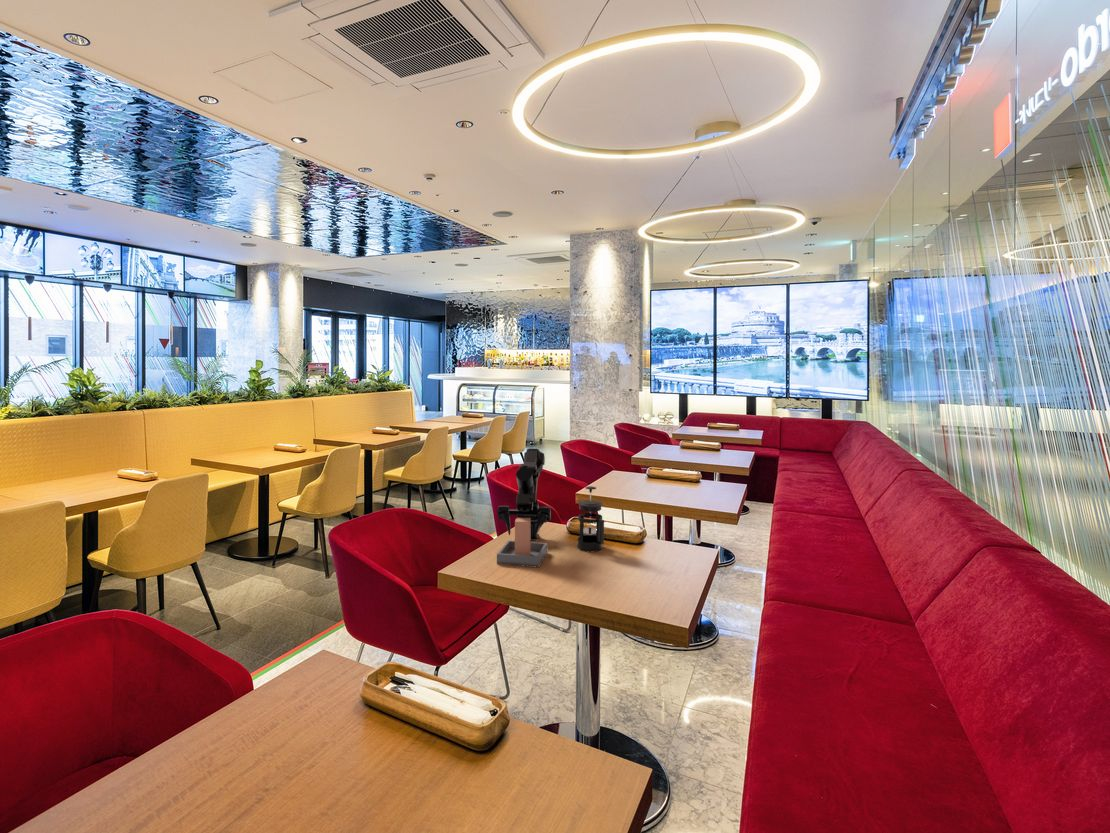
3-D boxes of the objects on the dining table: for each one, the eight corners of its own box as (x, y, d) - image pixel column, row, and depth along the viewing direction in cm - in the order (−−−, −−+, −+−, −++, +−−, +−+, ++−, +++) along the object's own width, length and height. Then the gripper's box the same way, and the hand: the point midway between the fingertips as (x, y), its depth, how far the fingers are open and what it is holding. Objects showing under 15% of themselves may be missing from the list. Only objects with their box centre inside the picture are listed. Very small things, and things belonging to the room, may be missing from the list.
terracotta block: (516, 553, 200) (516, 517, 199) (530, 553, 200) (530, 517, 199) (514, 558, 195) (514, 521, 194) (529, 558, 195) (529, 522, 194)
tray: (508, 549, 206) (508, 540, 206) (547, 552, 204) (547, 543, 203) (496, 563, 192) (496, 553, 192) (538, 567, 189) (538, 557, 189)
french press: (570, 546, 211) (571, 486, 208) (588, 541, 217) (589, 482, 215) (592, 554, 202) (593, 491, 200) (610, 549, 208) (612, 488, 206)
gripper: (498, 483, 200) (493, 522, 190) (550, 484, 199) (548, 524, 189) (501, 499, 208) (496, 538, 198) (551, 500, 207) (549, 539, 197)
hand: (522, 534), depth 196 cm, fingers open, 9 cm apart
